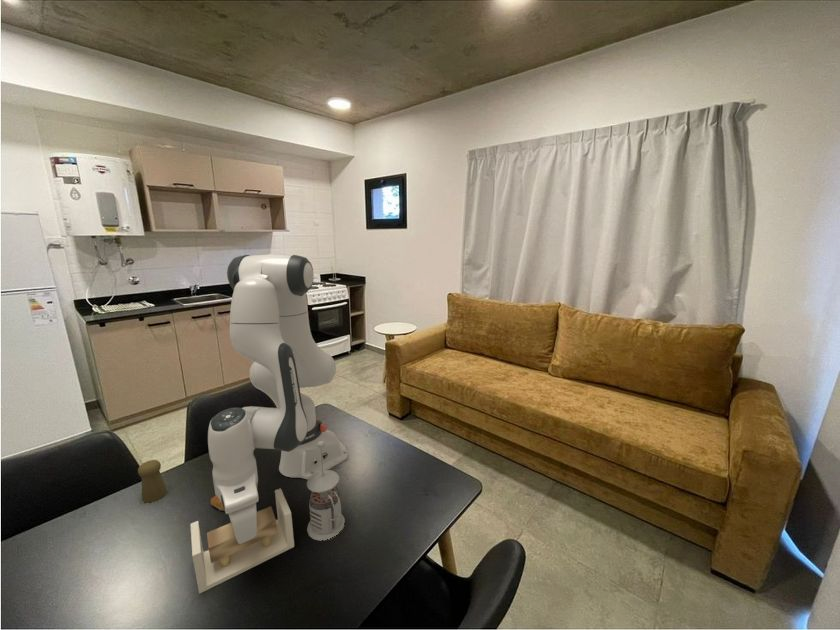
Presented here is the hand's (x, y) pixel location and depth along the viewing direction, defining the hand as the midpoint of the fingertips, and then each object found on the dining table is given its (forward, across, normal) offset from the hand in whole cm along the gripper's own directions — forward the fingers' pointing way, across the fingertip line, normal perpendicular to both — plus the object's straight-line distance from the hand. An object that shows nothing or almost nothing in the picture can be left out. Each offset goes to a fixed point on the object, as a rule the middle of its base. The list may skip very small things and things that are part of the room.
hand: (242, 529), depth 81 cm
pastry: (+7, -20, -1) cm, 21 cm away
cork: (+7, -36, -19) cm, 41 cm away
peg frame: (+7, 0, 0) cm, 7 cm away
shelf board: (+3, 0, 0) cm, 3 cm away
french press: (+7, +4, +19) cm, 21 cm away
